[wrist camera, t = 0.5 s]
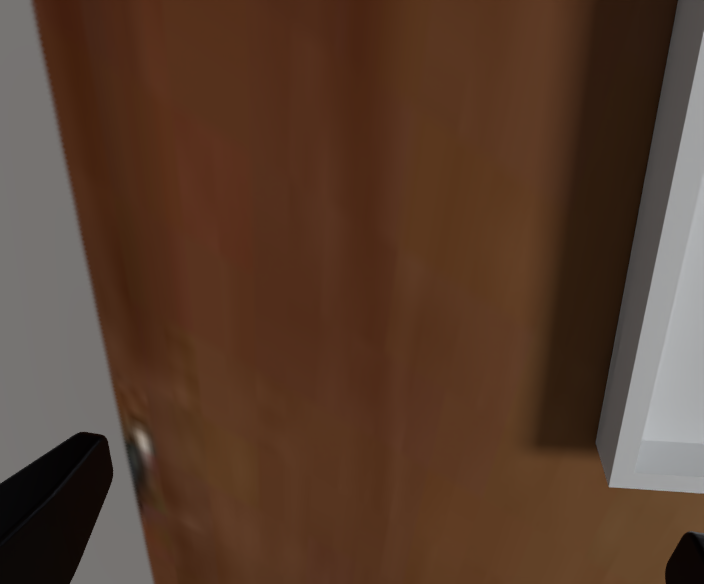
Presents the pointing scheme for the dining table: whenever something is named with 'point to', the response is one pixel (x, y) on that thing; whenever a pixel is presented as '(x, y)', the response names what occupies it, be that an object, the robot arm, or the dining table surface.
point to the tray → (664, 294)
